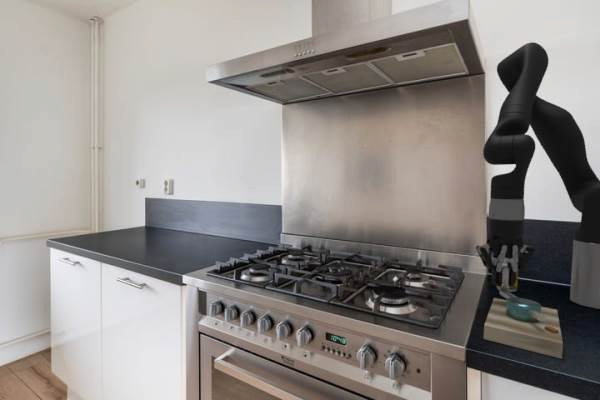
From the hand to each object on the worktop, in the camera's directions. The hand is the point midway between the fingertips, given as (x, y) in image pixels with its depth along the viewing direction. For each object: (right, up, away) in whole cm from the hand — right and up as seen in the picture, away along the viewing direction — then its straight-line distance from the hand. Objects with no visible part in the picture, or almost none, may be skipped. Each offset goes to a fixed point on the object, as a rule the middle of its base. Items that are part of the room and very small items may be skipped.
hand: (503, 285), depth 82 cm
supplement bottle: (+13, -6, +19) cm, 24 cm away
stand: (-1, -8, -8) cm, 12 cm away
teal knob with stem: (-1, -4, -7) cm, 8 cm away
